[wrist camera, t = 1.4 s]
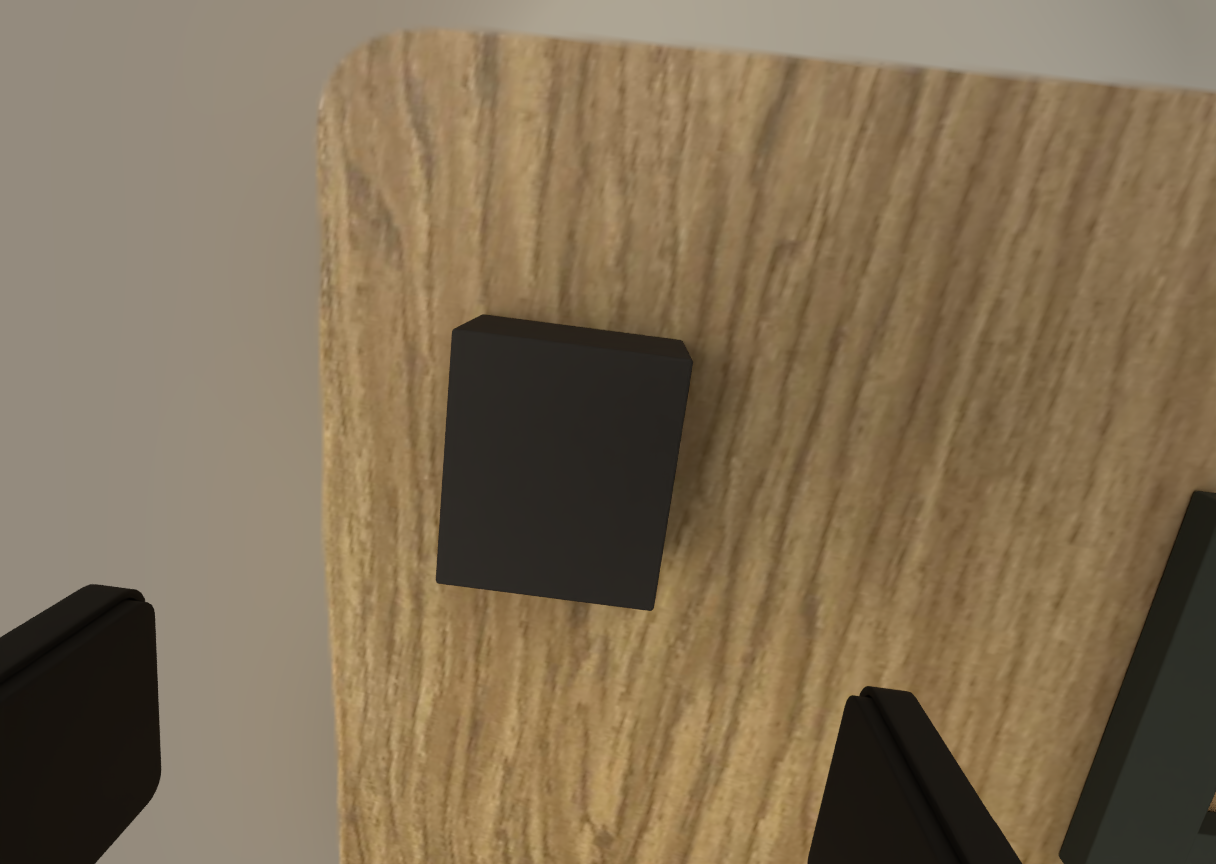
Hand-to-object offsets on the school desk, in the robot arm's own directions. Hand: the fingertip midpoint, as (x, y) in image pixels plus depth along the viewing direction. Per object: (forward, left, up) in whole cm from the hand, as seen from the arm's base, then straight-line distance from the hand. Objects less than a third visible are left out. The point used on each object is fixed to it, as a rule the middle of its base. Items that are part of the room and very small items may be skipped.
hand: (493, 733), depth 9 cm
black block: (0, 0, -13) cm, 13 cm away
